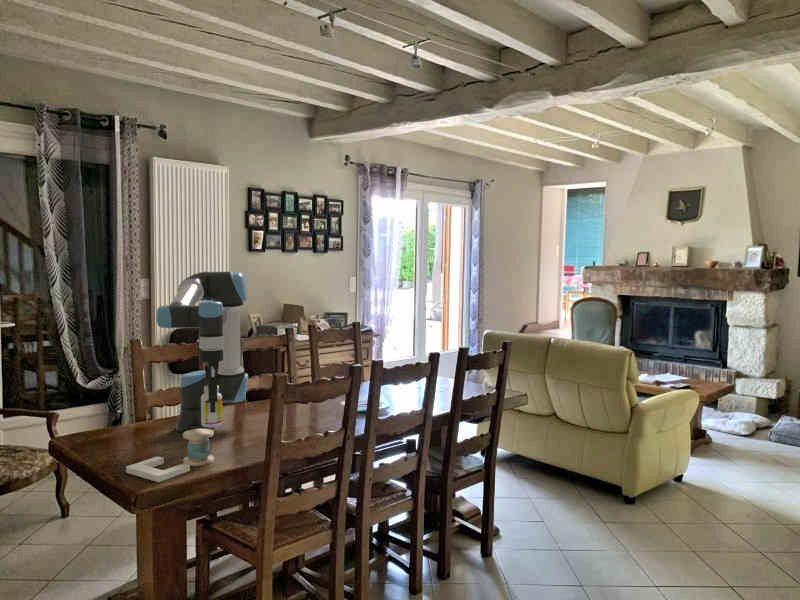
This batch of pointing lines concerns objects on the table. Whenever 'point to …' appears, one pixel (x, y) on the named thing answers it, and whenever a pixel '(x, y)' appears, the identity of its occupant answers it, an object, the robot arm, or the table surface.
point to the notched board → (154, 474)
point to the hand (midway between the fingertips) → (211, 419)
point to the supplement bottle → (205, 409)
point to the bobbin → (198, 447)
